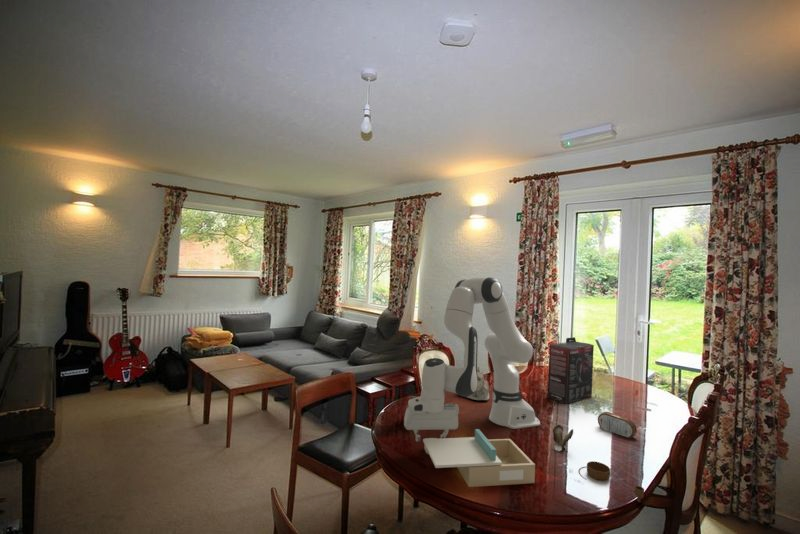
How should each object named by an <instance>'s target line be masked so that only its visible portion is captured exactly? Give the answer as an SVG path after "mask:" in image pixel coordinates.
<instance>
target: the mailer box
mask: <svg viewBox="0 0 800 534" xmlns="http://www.w3.org/2000/svg"><path fill="white" fill-rule="evenodd" d="M487 439H488V440H489V442H490V443H491V444H492V445H493V446H494V448H495V449H496V456H497V457H498V458H499V459H500V460H501V462H502V465H488V466H467V467H456V468H457V470H458V471H459V473H460V475H461V477H462V479H464V481H465V484H466V485H467V487H469V488H476V487H489V486H490V487H491V486H493V487H494V486H509V485H525V484H527V485H528V484H535V479H536V478H535V477H536V463H534V462H533V460H531V458H530V457H529V456H527V454H526V453H524V452H523V450H522V449H521V448H519V446H518V445H517V444H516V443H515V442H514V441H513V440H512V438H492V439H489V438H487Z"/></svg>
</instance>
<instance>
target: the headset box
mask: <svg viewBox="0 0 800 534" xmlns="http://www.w3.org/2000/svg"><path fill="white" fill-rule="evenodd" d="M576 340H577V339H576V336H574V337H573V336H572V337H566V338H565V342H559V343H558V342H557V343H549V354H548V356H549V357H548V376H547V393H546V394H547V398H548V399H552V400H555V401H558V402H559V403H563V404H566V405H567V404H571V403H576V402H579V401H582V400H583V401H584V400H586V399H590V398H592V396H593V393H592V391H593V372H594V369H593V368H594V351H595V350H594V346H595V345H594V344H591V343H587V342H579V341H576Z"/></svg>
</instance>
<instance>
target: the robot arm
mask: <svg viewBox="0 0 800 534" xmlns="http://www.w3.org/2000/svg"><path fill="white" fill-rule="evenodd" d="M475 304H476V305H477V304H482V308H483V313H484V315H485V318H486V322H487V325H488V328H489V329H490V331H491V332H492V333H489V334H488V335H487V336H486V337H485V339H484V348H485V349H486V351H487V352H488V354H489V356H490V360H491V363H492V368H493V388H492V393H491V394H492V395H491V396H492V398H491V399H492V402H491V410H490V413H489V416H488V420H489V421H490V422H492V423H494V424H496V425H497V426H498V425H499V426H501V427H507V428H509V429H512V430H513V429H514V430H515V429H523V428H532V427H536V426H537V427H538V426H540V425H541V421H540V420H539V418H538V417H537V416H536V415H535V410H534V408H533V407H532V406H531V405H530V404H529V403H528V402H527V401H525V399H526V398H527V395H528V394H527V393H526V392H522V390H519V389H520V388H519V387H520V373H519V371H518V370H517V368H516V367H515V365H514V364H515V363H516V364H526V363H529V362H530V361H531V360H532V357H533V355H534V349H533V345H532V344H531V343H530V342H529V341H527V339H526V338H525V337H524V336H523V334H522V333H521V332H520V330H519V329H518V327H517V325H516V324H515V322H514V318H513V315H512V313H511V309H510V306H509V303H508V300H507V298H506V295H505V293H504V291H503V286H502V283H501V282H500V281H499V280H498V279H496V278H495V277H475V278H473V277H472V278H464V279H461V280H459V281H458V282H457V283H456V285H455V286H454V288H453V289H452V291H451V293H450V296H449V299H448V300H447V305H446V308H445V312H444V317H443V324H444V327H445V328H446V329H447V330H448V331H449V333H451V334H452V335H454V336H456V337H457V338H458V339H460V340H461V341H462V343H463V345H464V352H463V353H464V355H463V356H464V357H463V367H458V366H455V365H450V364H448V363H445V361H444V359H442V358H437V357H434V358H428V359H426V360H425V361H424V363H423V366H422V367H423V368H422V373H421V392H420V396H415V397H416V398H413V399H409V400H408V401H407V403H408V404H407V405H409V407H408V408H407V407H406V410H405V413H404V418H403V426H404V428H405V430H407V431H413V433H414V435H415V441H416V442H421V435H420V434H418V433H419V431H422V430H423V431H425V430H426V431H427V430H440V431H441V430H443V432H442V434H440V437H439V438H447V436H448V433H449V431H450V430H457V429H458V427H459V416H458V415H459V412H460V407H459V405H458V404H456V403H455V402H454V403H453V402H452V403H449V402H448V403H447V402H445V397H446V396H445V395H446V394H445V391H446V392H450V393H454V394H456V395H458V396H461V397H464V398H467V397H468V396H470V395H472V394H473V393H475V392H476V390H477V386H478V377H477V369H478V332H477V329H476V328H475V327H474V325H473V315H474V309H475ZM523 398H524V399H523Z"/></svg>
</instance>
